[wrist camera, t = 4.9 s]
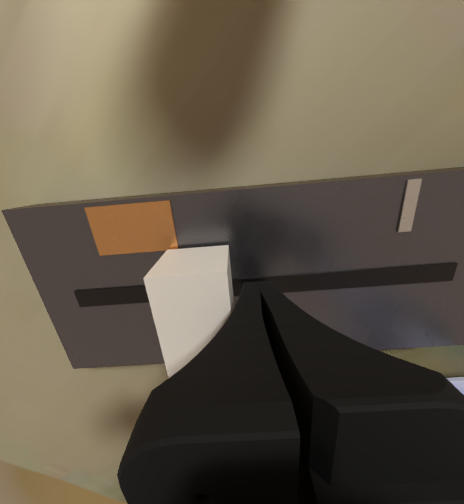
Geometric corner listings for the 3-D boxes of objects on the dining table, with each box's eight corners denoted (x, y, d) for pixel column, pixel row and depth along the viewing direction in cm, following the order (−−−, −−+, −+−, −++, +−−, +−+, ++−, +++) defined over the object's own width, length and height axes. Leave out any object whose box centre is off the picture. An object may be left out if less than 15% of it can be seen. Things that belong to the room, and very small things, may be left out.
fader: (236, 328, 12) (237, 376, 9) (183, 332, 12) (169, 380, 9) (228, 244, 10) (226, 272, 8) (167, 249, 10) (143, 278, 8)
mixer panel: (435, 322, 15) (467, 346, 13) (92, 344, 15) (72, 370, 14) (482, 165, 11) (535, 163, 9) (37, 204, 12) (-1, 210, 10)
